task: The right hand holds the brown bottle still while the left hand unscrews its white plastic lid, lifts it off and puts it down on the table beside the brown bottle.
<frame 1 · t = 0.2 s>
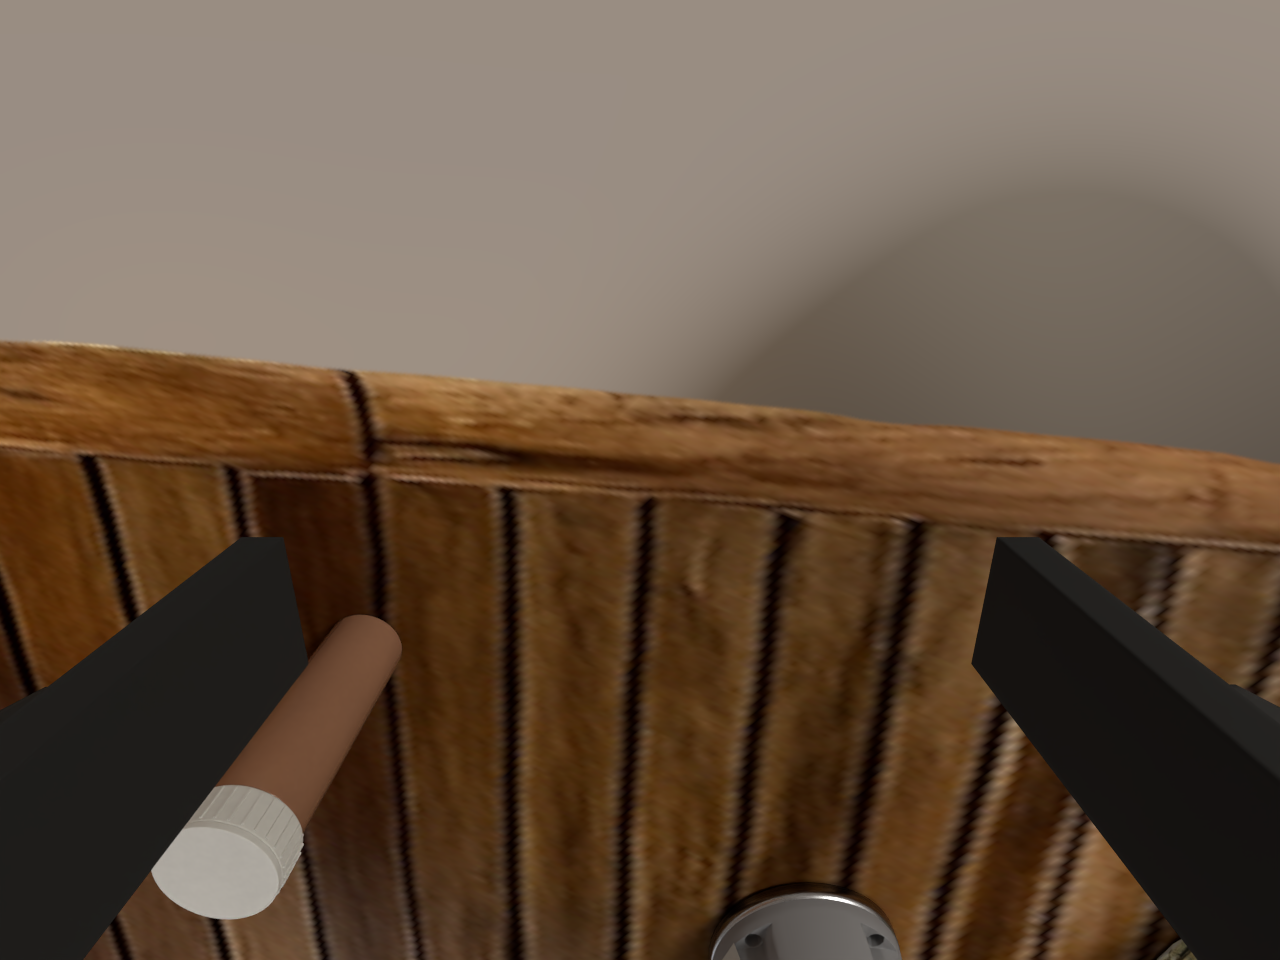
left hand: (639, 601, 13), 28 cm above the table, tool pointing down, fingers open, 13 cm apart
fossil: (1201, 954, 56), on the table
lid: (219, 868, 30), point 17 cm above the table, screwed on, not yet turned
brown bottle: (365, 645, 46), on the table
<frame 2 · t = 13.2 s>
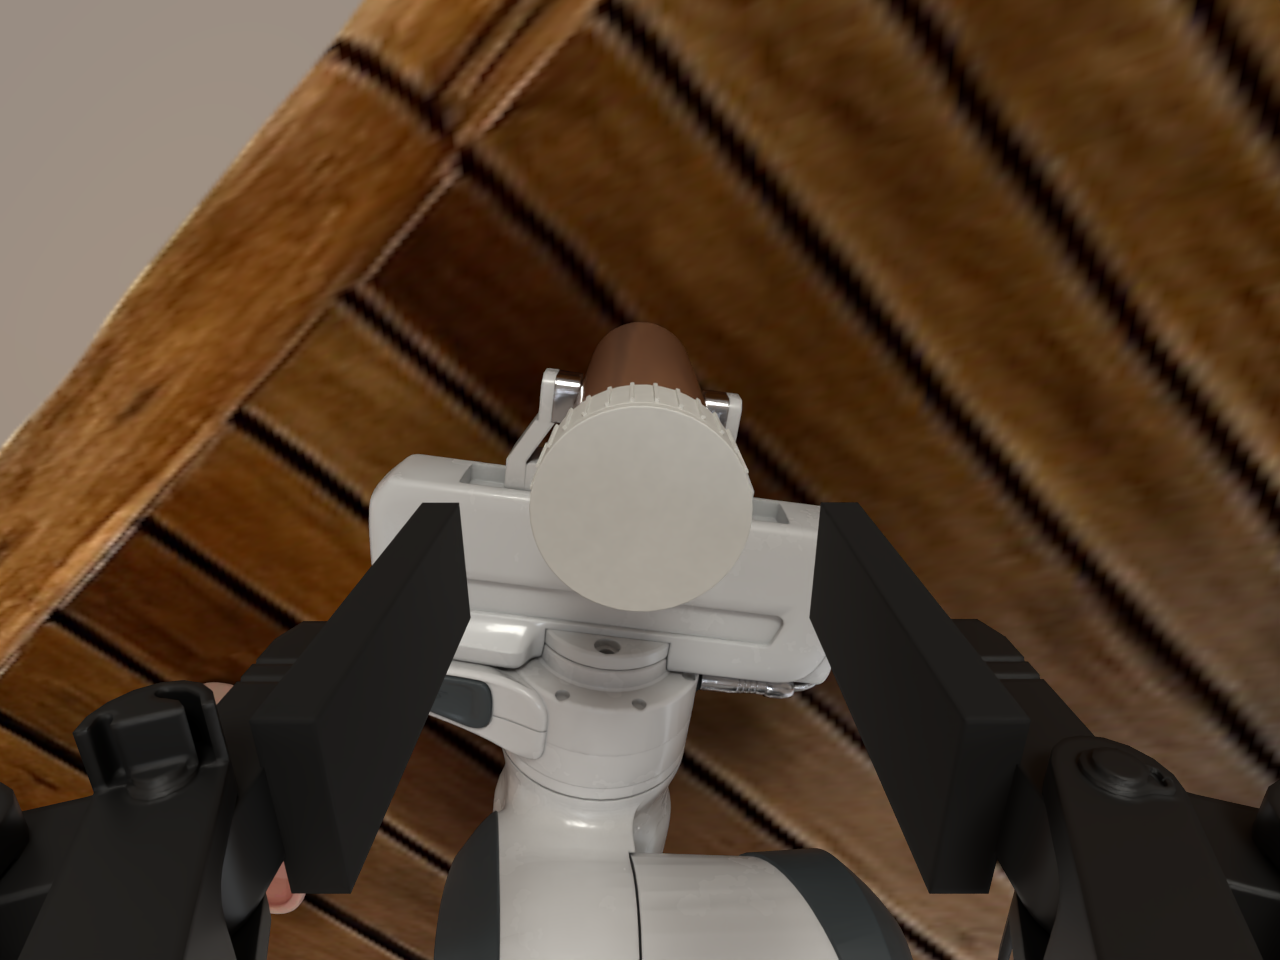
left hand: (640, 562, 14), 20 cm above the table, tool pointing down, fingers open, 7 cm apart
right hand: (642, 383, 27), fingers closed on brown bottle, 5 cm apart
lid: (640, 509, 17), point 17 cm above the table, screwed on, not yet turned
anatomical model: (256, 774, 41), on the table
brown bottle: (640, 373, 33), on the table, touching right hand
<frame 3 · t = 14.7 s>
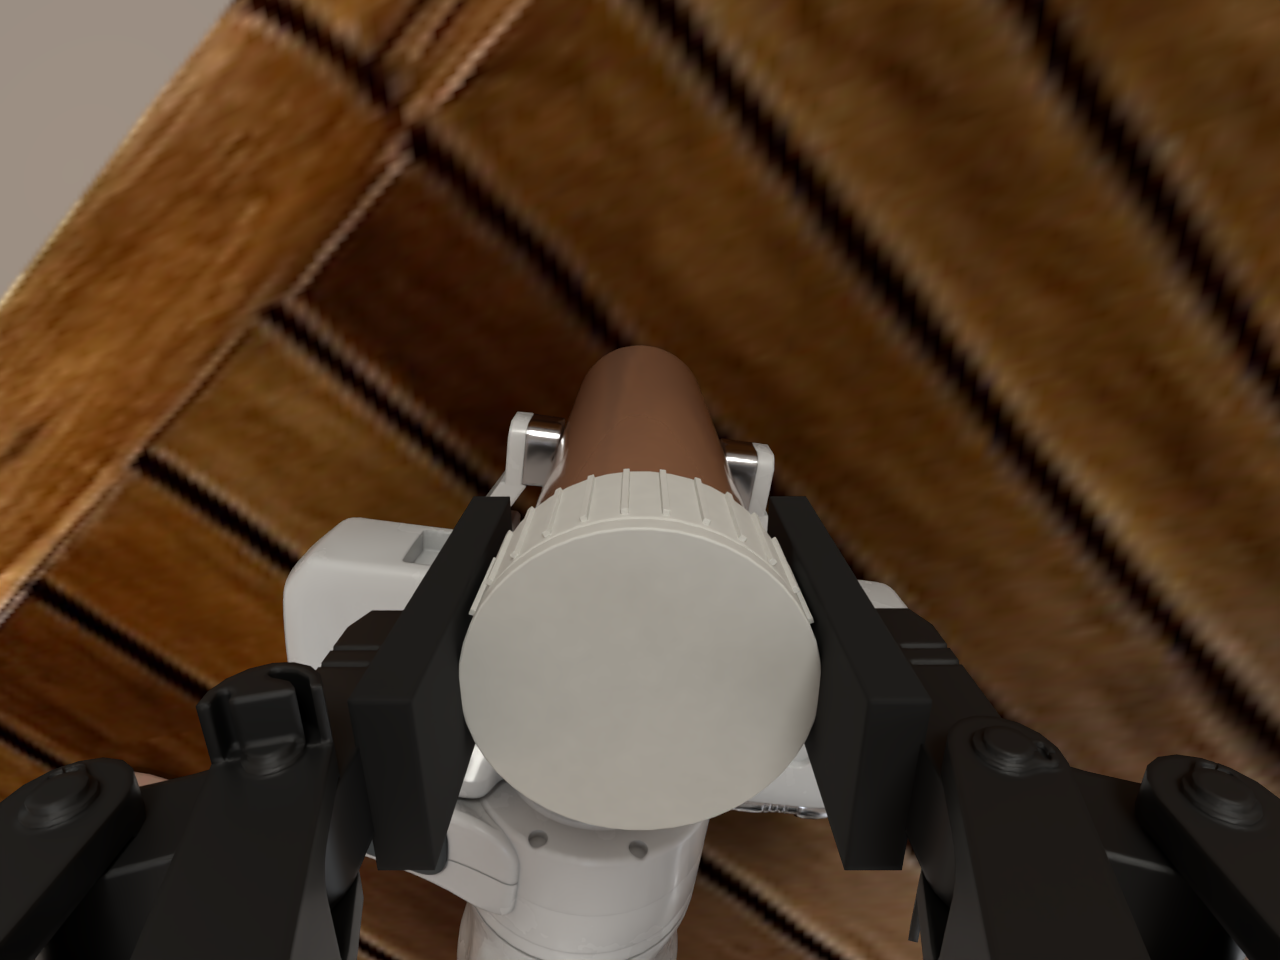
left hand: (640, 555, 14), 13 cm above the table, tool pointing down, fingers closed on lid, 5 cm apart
lid: (639, 679, 11), point 17 cm above the table, screwed on, not yet turned, touching left hand
brown bottle: (639, 408, 26), on the table, touching right hand
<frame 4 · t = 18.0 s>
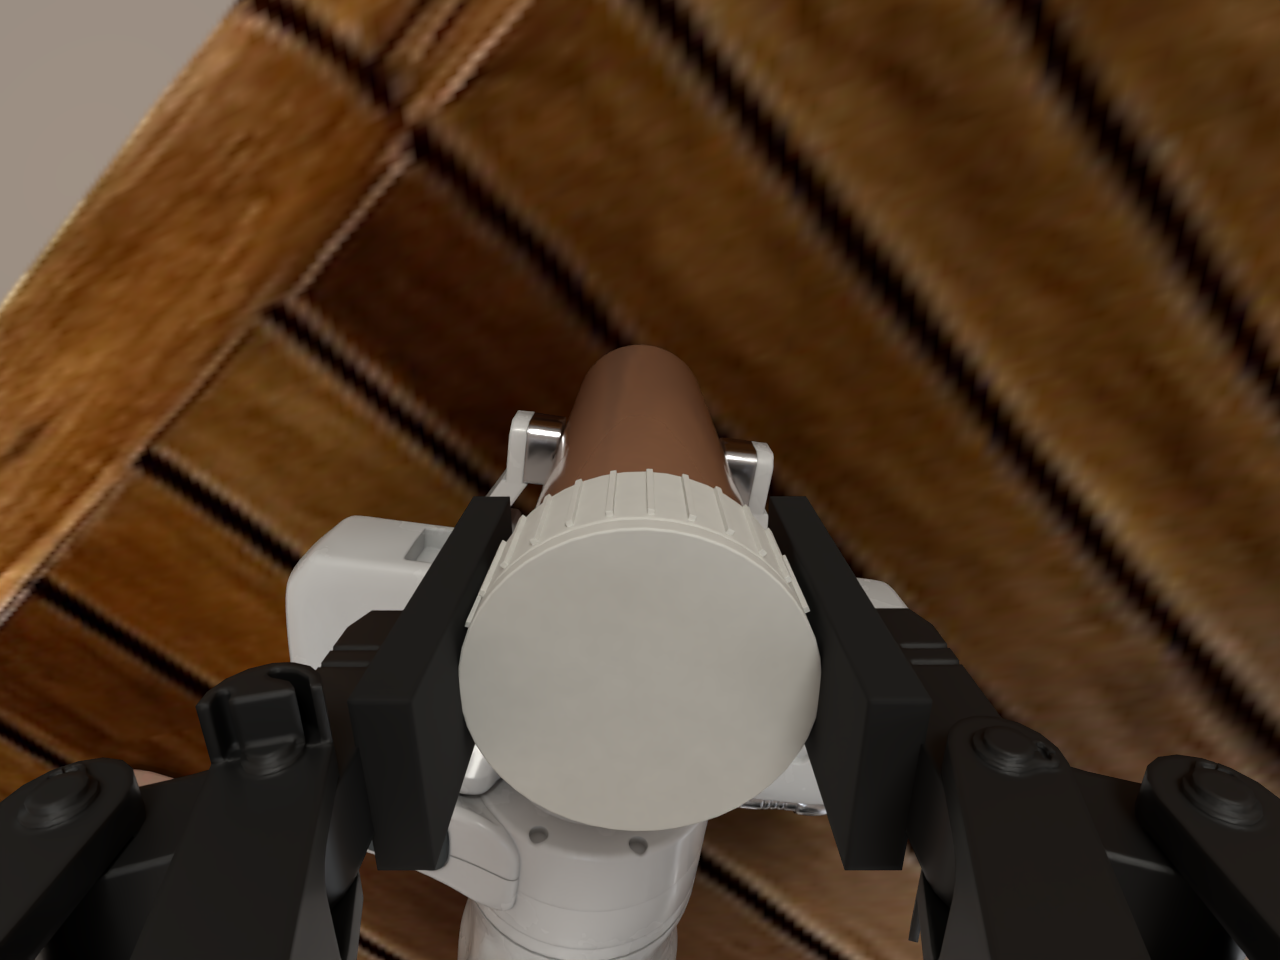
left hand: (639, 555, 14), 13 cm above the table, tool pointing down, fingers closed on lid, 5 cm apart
lid: (640, 679, 11), point 17 cm above the table, turned 91° so far, risen 0.2 cm, still on its thread, touching left hand
anatomical model: (188, 871, 35), on the table
brown bottle: (639, 407, 27), on the table, touching right hand
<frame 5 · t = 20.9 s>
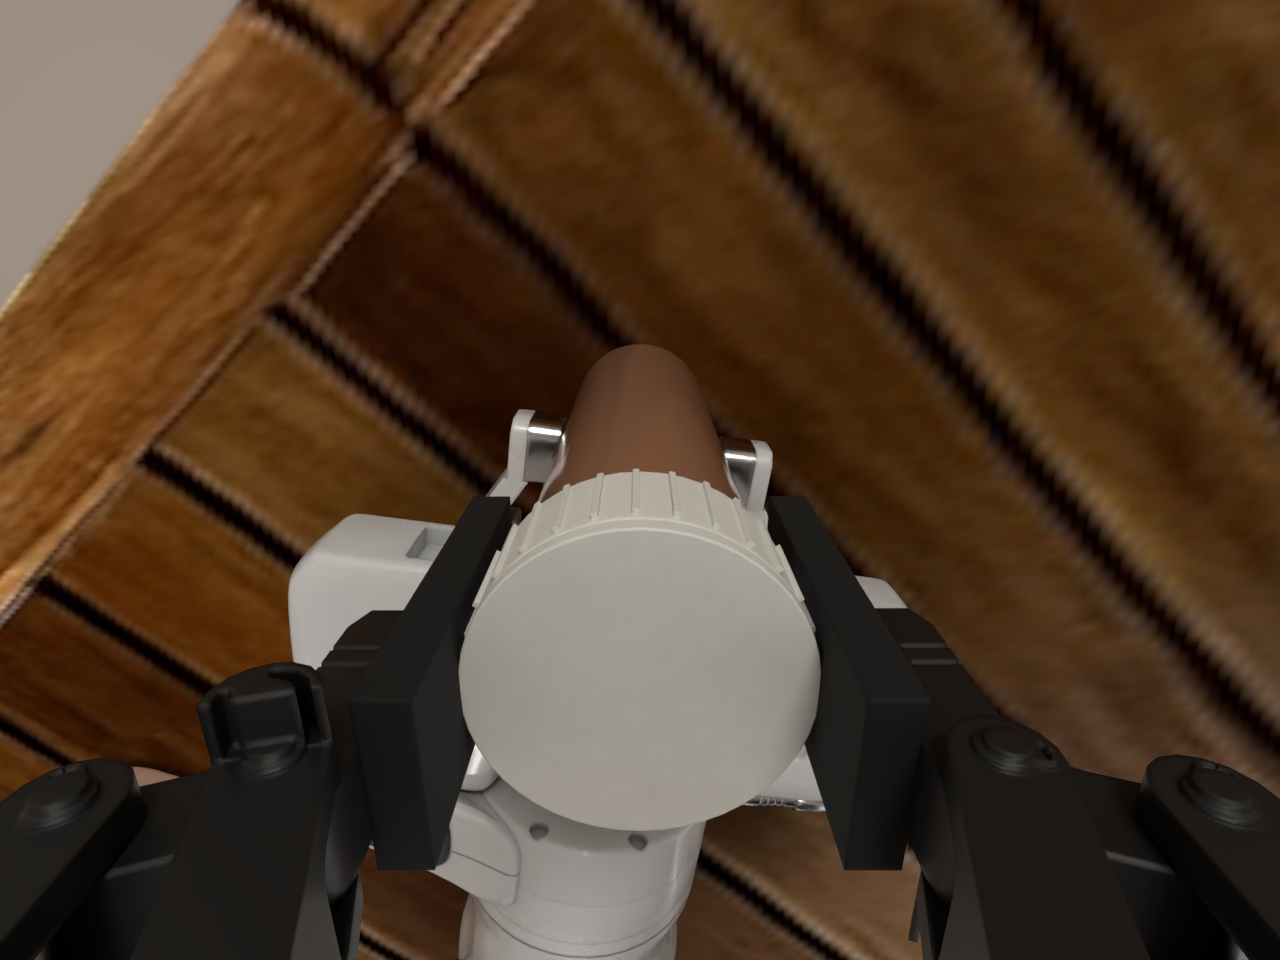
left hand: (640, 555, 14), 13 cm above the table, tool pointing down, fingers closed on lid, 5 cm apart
lid: (639, 679, 11), point 17 cm above the table, turned 183° so far, risen 0.3 cm, still on its thread, touching left hand
anatomical model: (190, 868, 35), on the table
brown bottle: (639, 406, 27), on the table, touching right hand
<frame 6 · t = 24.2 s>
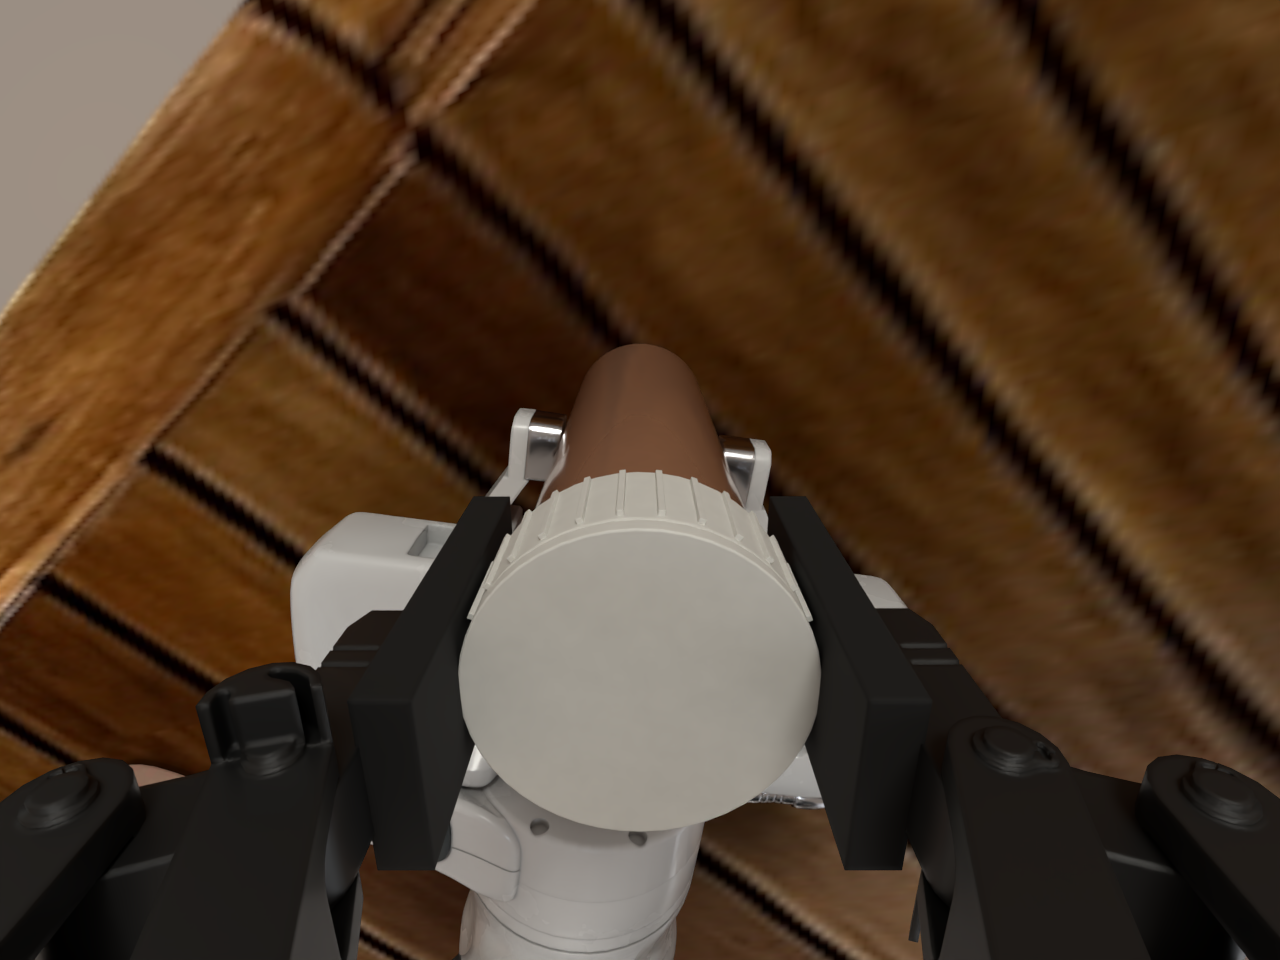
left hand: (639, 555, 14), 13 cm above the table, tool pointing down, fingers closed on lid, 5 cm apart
lid: (639, 680, 11), point 18 cm above the table, turned 274° so far, risen 0.5 cm, still on its thread, touching left hand
anatomical model: (191, 865, 35), on the table
brown bottle: (639, 405, 27), on the table, touching right hand
when the left hand's fingers open (0 cm above the table, at t = 30.8 s): lid drops 2 cm, point 2 cm above the table.
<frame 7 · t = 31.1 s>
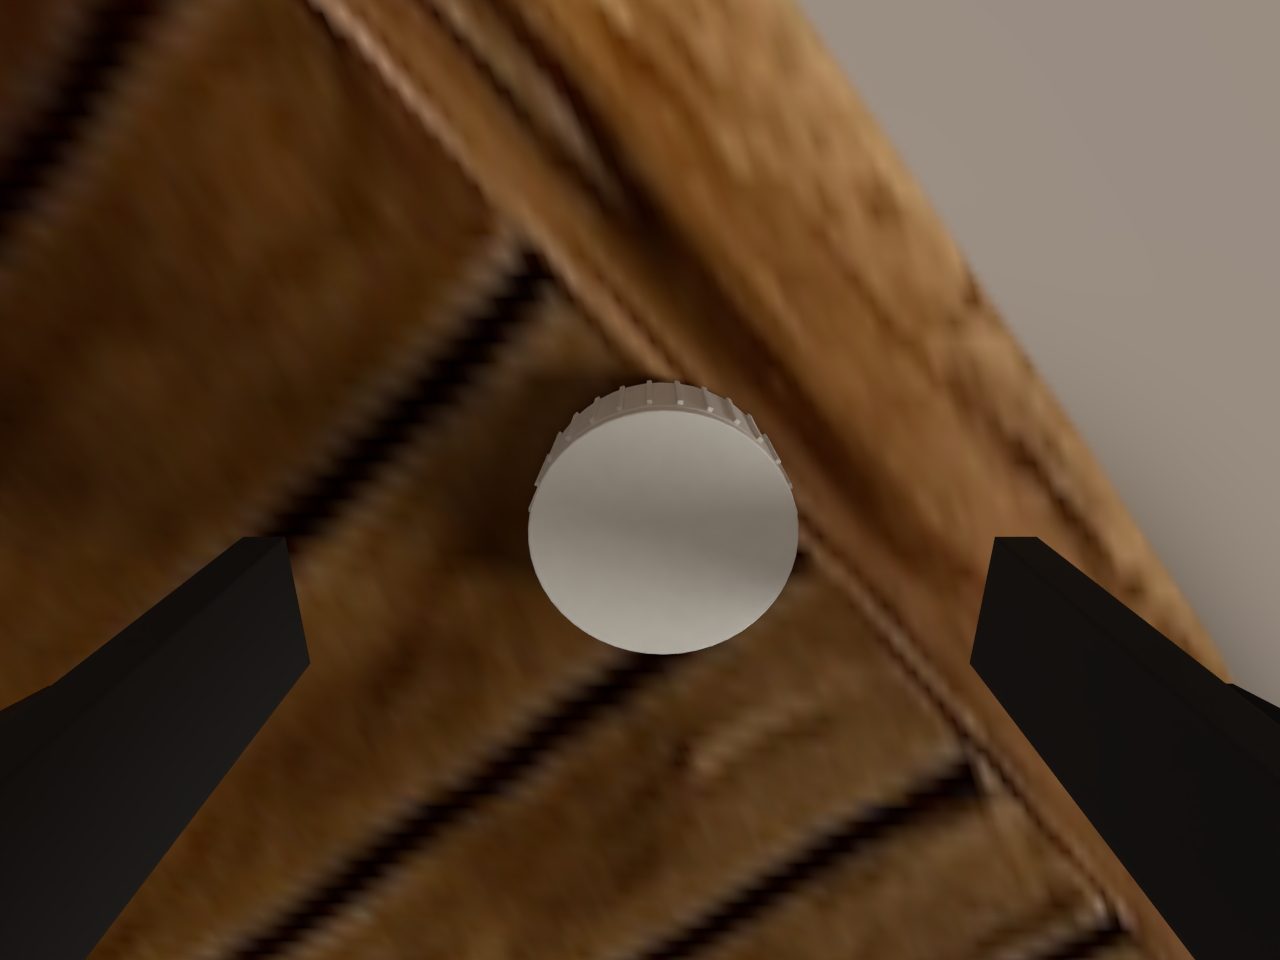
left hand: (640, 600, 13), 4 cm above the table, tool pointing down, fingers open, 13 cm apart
lid: (662, 534, 14), point 2 cm above the table, off its thread
when the right hand's fingers open (6 cm above the table, at t = 31.5 s): brown bottle stays where it is, on the table.
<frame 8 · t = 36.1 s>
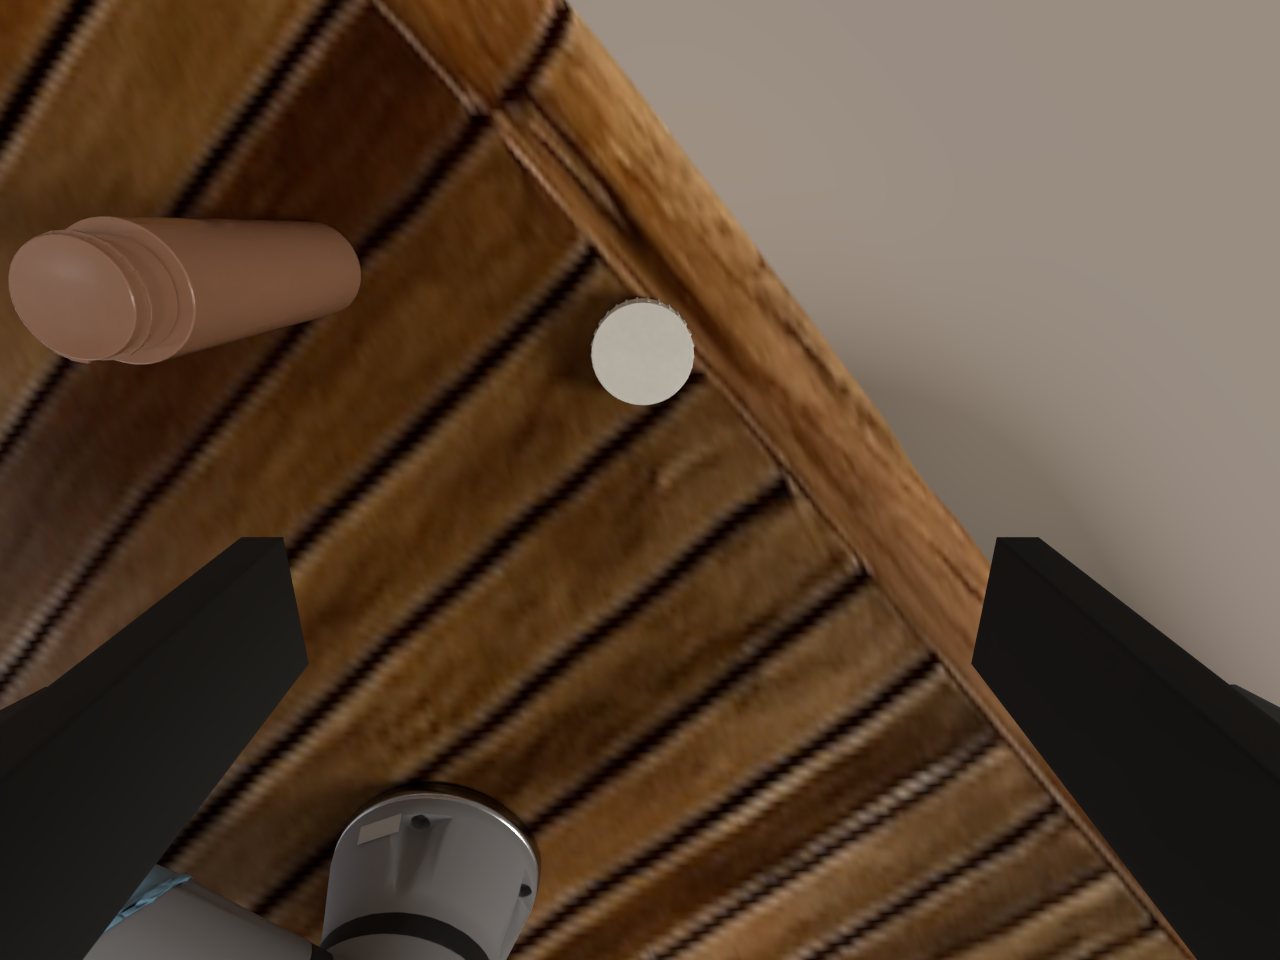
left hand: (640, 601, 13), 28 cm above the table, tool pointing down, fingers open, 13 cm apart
lid: (642, 354, 37), point 2 cm above the table, off its thread
brown bottle: (316, 269, 37), on the table
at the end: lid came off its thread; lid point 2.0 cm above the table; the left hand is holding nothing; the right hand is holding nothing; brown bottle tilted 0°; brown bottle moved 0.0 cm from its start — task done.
